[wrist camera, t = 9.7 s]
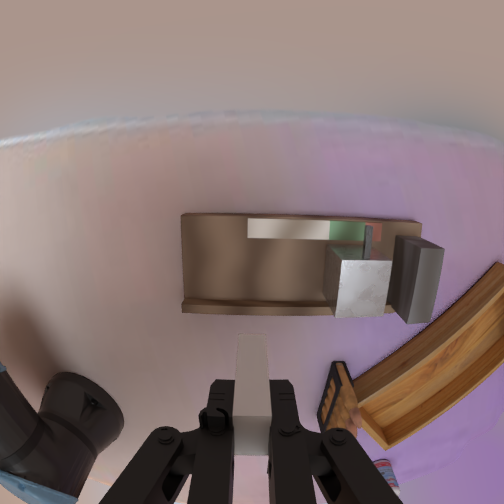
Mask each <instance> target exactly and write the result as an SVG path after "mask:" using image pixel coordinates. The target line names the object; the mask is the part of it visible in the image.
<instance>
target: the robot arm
mask: <svg viewBox="0 0 504 504" xmlns="http://www.w3.org/2000/svg"><path fill="white" fill-rule="evenodd" d="M6 370H7V369H6V367H5V366H3V365H2V363H1V362H0V484H1V485H2V486H3V487H4V488H6V489H7V490H8V491H10V492H11V493H13V494H14V495H15V496H17V497H18V498H20V499H21V500H23V501H25V502H26V503H28V504H75V503H76V502H77V501H78V497H79V495H80V493H81V490H82V488H83V486H84V484H85V481H86V479H87V477H88V475H89V473H90V471H91V469H92V466H93V464H94V462H95V460H96V458H97V456H98V454H100V453H101V452H102V451H103V450H104V449H105V448H107V447H108V446H109V445H110V444H111V443H112V442H113V441H115V440H116V439H117V438H118V437H119V435H120V433H121V431H122V428H123V425H124V419H123V415H122V413H121V411H120V409H119V407H118V406H117V404H116V403H115V402H114V400H113V399H112V398H111V397H110V396H109V395H108V394H107V393H106V392H105V391H104V390H103V389H101V388H100V387H99V386H97V385H96V384H94V383H93V382H91V381H90V380H88V379H86V378H84V377H82V376H79V375H76V374H73V373H66V372H64V373H58V374H56V375H55V376H54V377H53V378H52V379H51V380H50V381H49V383H48V384H47V386H46V388H45V393H44V396H43V398H42V402H41V406H40V409H39V412H38V413H37V412H36V411H35V410H34V409H33V408H32V406H31V405H30V404H29V402H28V401H27V400H26V398H25V397H24V396H23V394H22V393H21V391H20V390H19V389H18V387H17V386H16V384H15V383H14V381H13V380H12V378H11V377H10V375H9V374H8V372H7V371H6ZM198 416H199V423H200V427H199V428H198V429H195V430H193V431H189V432H182V433H180V432H179V431H178V430H177V429H175V428H173V427H168V426H165V427H159V428H157V429H155V430H154V431H153V432H151V434H150V435H149V436H148V438H147V439H146V441H145V442H144V443H143V445H142V446H141V447H140V449H139V450H138V451H137V453H136V454H135V456H134V457H133V458H132V460H131V461H130V462H129V464H128V465H127V466H126V468H125V469H124V470H123V472H122V473H121V474H120V476H119V477H118V478H117V480H116V481H115V483H114V484H113V485H112V487H111V488H110V489H109V490H108V492H107V493H106V494H105V496H104V497H103V499H102V500H101V501H100V502H99V504H174V502H175V500H176V498H177V497H178V495H179V493H180V491H181V489H182V487H183V486H184V484H185V482H186V480H187V478H188V476H189V474H192V478H191V484H190V490H189V496H188V501H187V504H232V500H233V480H234V455H268V456H269V460H268V470H267V474H268V476H269V500H270V504H317V503H316V497H315V491H314V485H313V479H312V475H313V477H314V479H315V481H316V482H317V484H318V486H319V488H320V490H321V492H322V494H323V496H324V498H325V499H326V501H327V503H328V504H403V503H402V501H401V500H400V499H399V497H398V496H397V495H396V493H395V492H394V491H393V489H392V488H391V487H390V485H389V484H388V482H387V481H386V480H385V478H384V477H383V476H382V474H381V473H380V472H379V470H378V469H377V467H376V466H375V465H374V463H373V462H372V461H371V459H370V458H369V456H368V455H367V454H366V452H365V451H364V449H363V448H362V447H361V445H360V444H359V442H358V441H357V440H356V438H355V437H354V435H353V434H352V433H351V432H350V431H349V430H346V429H344V428H338V427H337V428H331V429H329V430H327V431H326V432H325V433H324V434H323V433H317V432H312V431H309V430H307V429H305V428H304V427H303V426H302V425H301V424H300V421H299V416H298V410H297V405H296V400H295V394H294V388H293V385H292V384H291V383H290V382H289V380H269V373H268V360H267V347H266V334H239V338H238V351H237V364H236V376H235V380H220V379H216V380H215V381H214V382H213V383H212V385H211V387H210V392H209V398H208V403H207V407H206V408H204V409H203V410H201V411H200V413H199V415H198Z"/></svg>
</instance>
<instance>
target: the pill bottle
mask: <svg viewBox="0 0 504 504" xmlns="http://www.w3.org/2000/svg"><path fill="white" fill-rule="evenodd" d="M373 463H374V465H375V466H376V467H377V469H378V470H379V472H380V473H381V474H382V476H383V477H384V478H385V480H386V481H387V482H388V484H389V485H390V487H391V488H392V489H393V491H394V492H395V493H396V495H397V496H398V495H399V494H400V489H399V486H398V483H397V480H396V478H395V475H394V472H393V469H392V467H391V464H390V462H389V461H387V460H379V461H375V462H373Z"/></svg>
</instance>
